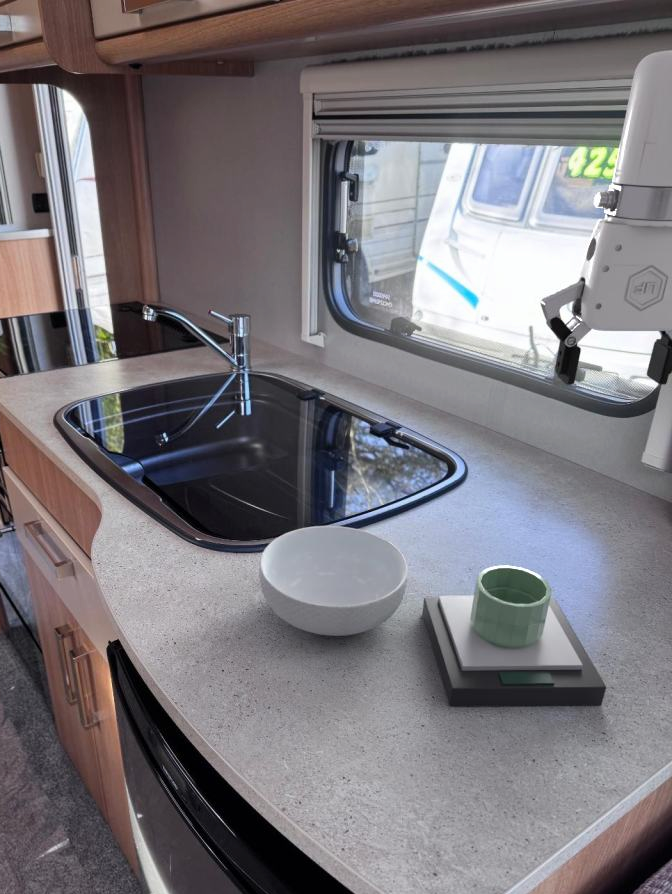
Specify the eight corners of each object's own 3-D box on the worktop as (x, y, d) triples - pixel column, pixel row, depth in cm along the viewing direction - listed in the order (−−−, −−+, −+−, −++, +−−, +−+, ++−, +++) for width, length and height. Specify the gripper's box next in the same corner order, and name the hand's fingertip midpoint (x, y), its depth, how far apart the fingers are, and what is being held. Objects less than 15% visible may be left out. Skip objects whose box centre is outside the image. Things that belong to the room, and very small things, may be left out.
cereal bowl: (394, 671, 75) (400, 616, 72) (241, 646, 79) (239, 593, 75) (410, 582, 90) (415, 532, 86) (280, 564, 93) (280, 516, 90)
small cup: (529, 606, 80) (537, 565, 78) (551, 650, 74) (561, 606, 71) (463, 607, 80) (469, 565, 77) (479, 650, 74) (487, 606, 71)
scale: (550, 613, 84) (555, 592, 83) (601, 705, 71) (608, 682, 70) (422, 614, 84) (424, 593, 82) (449, 707, 71) (453, 683, 69)
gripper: (573, 210, 65) (540, 392, 73) (764, 210, 65) (710, 392, 73) (546, 201, 71) (518, 369, 79) (719, 201, 72) (674, 369, 80)
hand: (610, 380), depth 76 cm, fingers open, 9 cm apart
